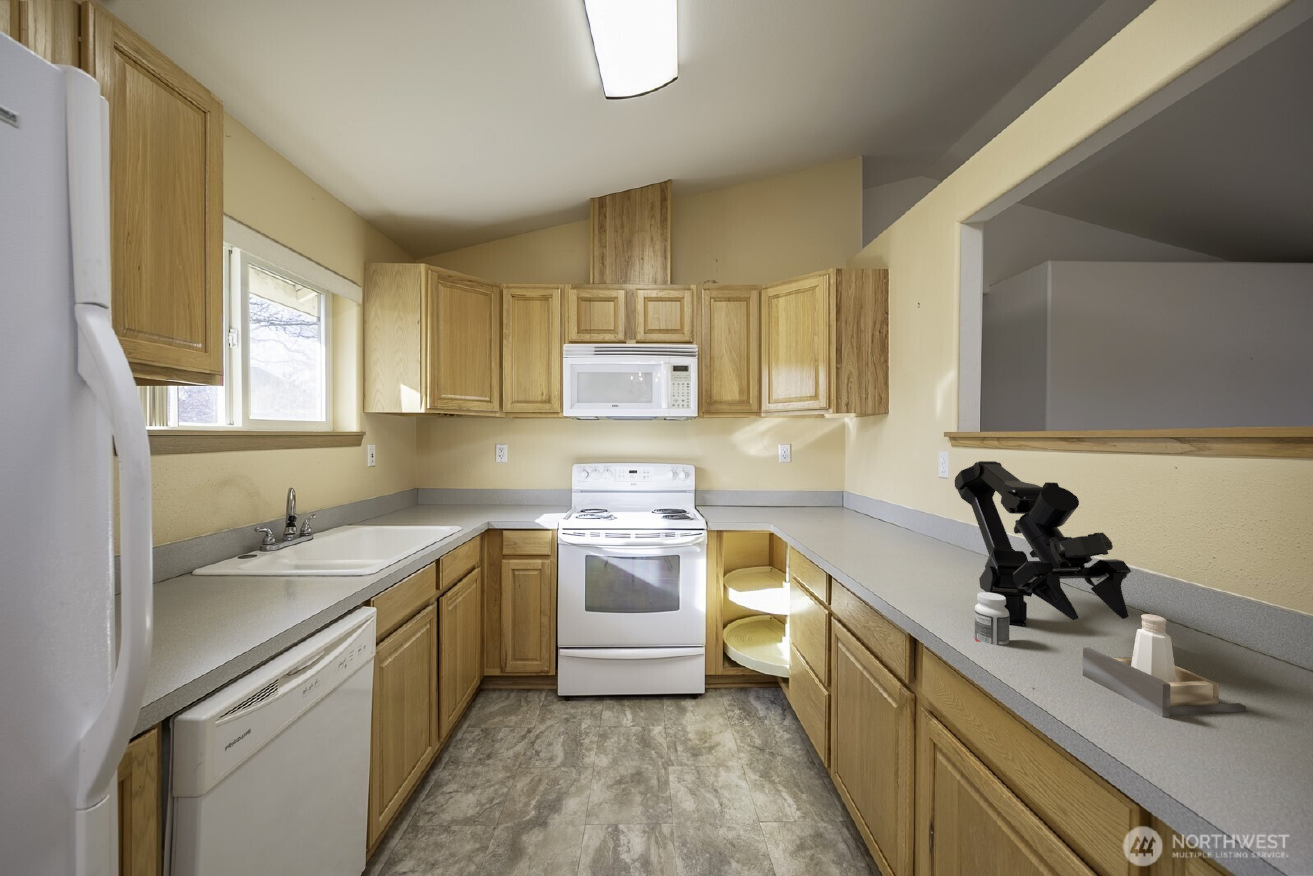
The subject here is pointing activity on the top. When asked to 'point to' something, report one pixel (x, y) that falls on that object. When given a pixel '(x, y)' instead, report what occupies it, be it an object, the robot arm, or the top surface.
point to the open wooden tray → (1141, 686)
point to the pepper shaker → (1154, 649)
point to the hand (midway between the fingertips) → (1101, 618)
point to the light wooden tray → (1188, 688)
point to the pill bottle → (991, 619)
